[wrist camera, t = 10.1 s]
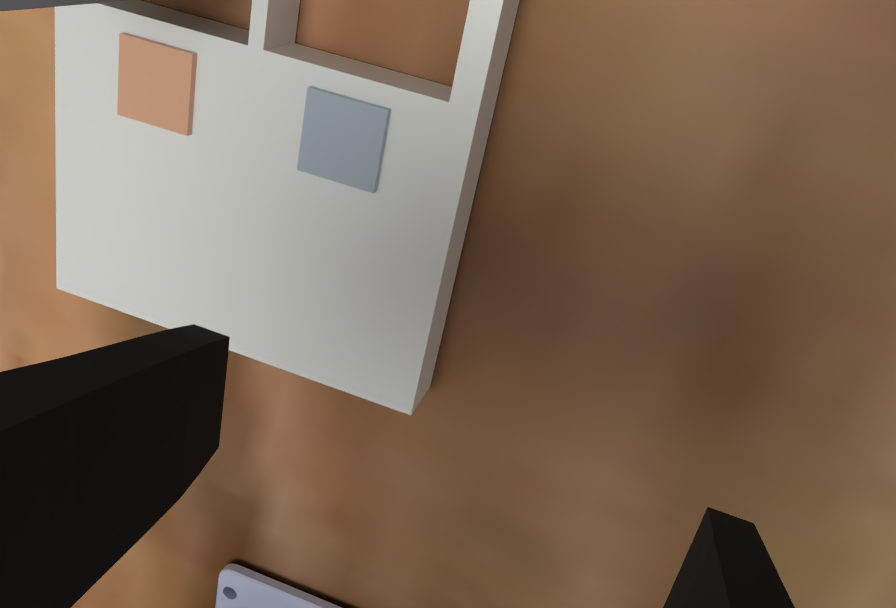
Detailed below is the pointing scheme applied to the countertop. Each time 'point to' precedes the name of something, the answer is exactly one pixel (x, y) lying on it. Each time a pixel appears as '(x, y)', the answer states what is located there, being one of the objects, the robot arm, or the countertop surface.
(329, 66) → the socket board
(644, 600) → the countertop surface
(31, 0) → the plug
